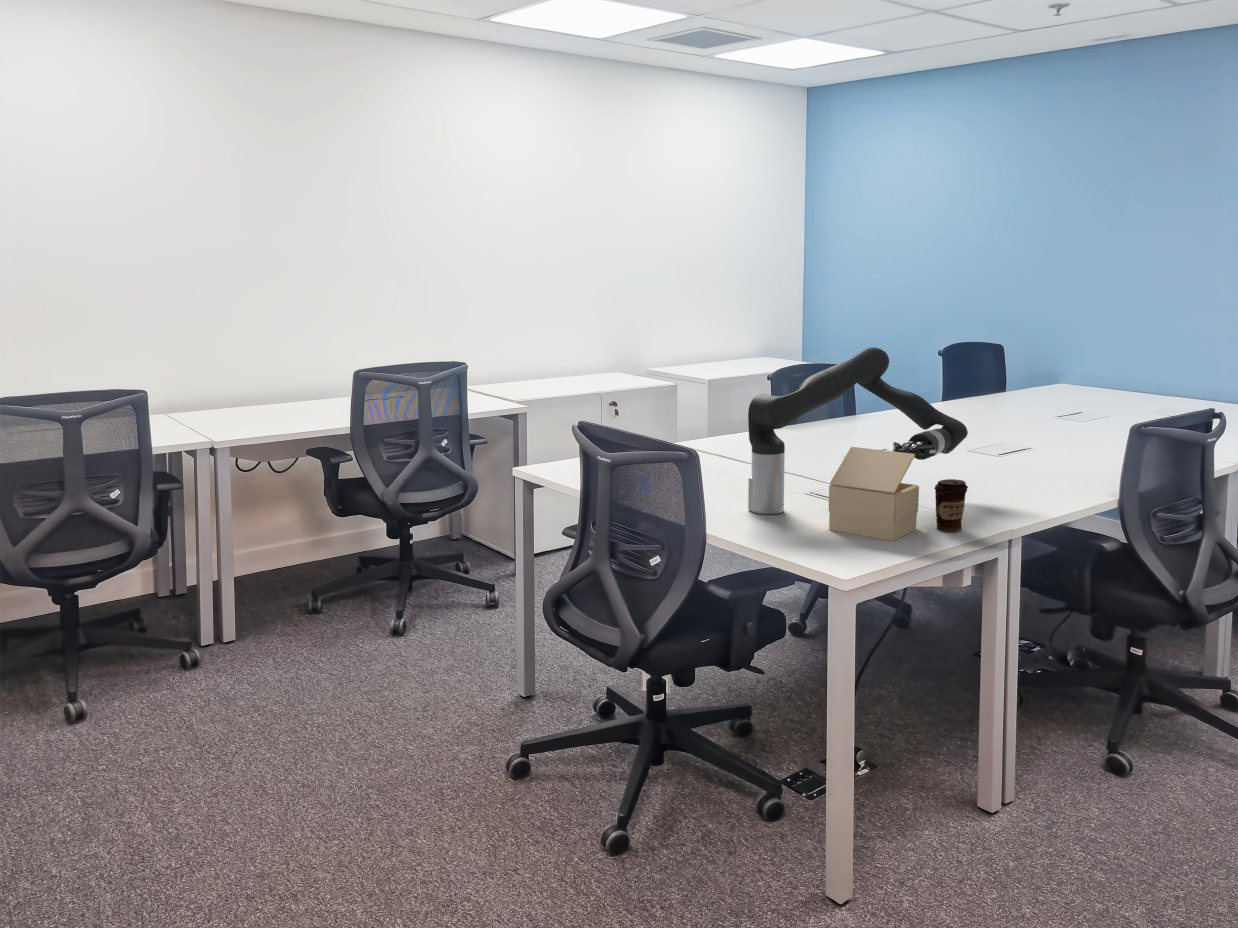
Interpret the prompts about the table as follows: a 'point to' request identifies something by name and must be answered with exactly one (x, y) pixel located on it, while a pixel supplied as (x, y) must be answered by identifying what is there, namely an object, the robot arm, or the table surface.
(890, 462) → the lid flap
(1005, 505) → the table surface
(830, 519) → the carton
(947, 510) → the coffee cup
